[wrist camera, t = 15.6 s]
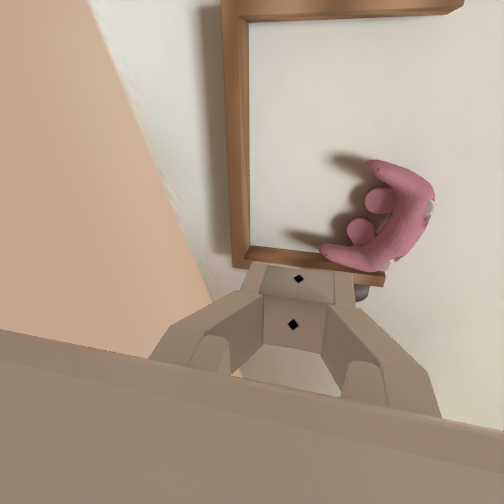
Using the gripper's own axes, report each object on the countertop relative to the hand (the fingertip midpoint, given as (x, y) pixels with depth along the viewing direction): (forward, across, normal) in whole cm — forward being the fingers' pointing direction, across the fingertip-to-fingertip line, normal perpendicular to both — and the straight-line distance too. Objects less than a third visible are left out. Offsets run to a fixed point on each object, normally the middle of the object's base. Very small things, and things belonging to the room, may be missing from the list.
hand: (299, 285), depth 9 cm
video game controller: (+19, -2, +4) cm, 20 cm away
